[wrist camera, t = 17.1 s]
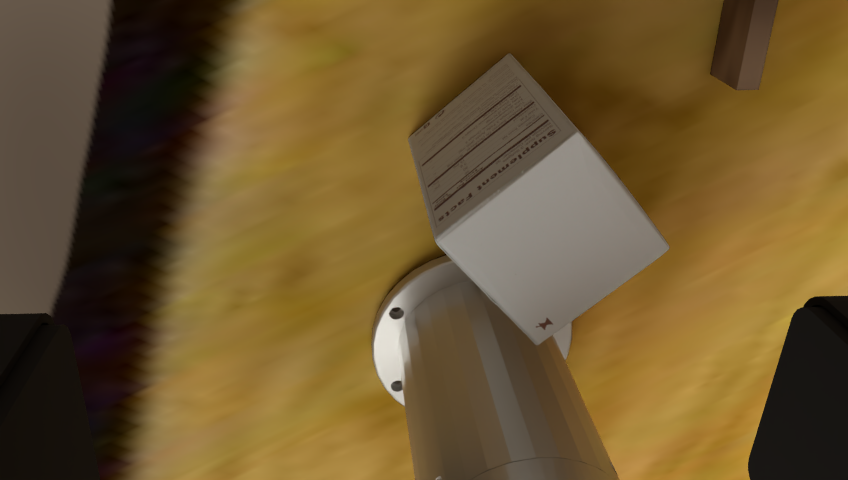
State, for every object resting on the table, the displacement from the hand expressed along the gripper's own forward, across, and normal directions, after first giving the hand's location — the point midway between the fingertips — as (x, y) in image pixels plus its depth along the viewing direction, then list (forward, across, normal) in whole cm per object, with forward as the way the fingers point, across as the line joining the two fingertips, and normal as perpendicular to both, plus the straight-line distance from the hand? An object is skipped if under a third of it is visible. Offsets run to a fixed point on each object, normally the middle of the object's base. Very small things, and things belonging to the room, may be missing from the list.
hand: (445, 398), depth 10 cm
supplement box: (+31, -7, +7) cm, 33 cm away
